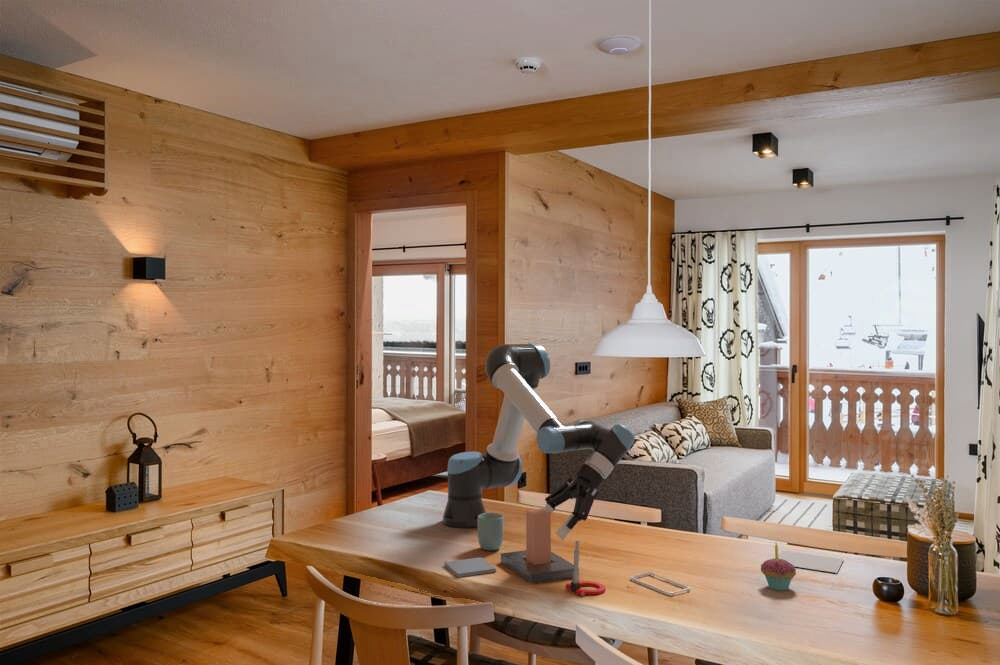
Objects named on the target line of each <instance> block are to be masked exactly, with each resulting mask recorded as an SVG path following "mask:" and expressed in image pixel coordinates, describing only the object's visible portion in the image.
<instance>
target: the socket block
mask: <svg viewBox="0 0 1000 665" xmlns="http://www.w3.org/2000/svg"><path fill="white" fill-rule="evenodd" d="M501 562H502V564H503V565H504V566H505V565H506V567H507V568H508V567H509V568H508V569H510V570H511V569H512V570H513V572H514V573H515V572H516V573H515V574H517V575H518V576H519V575H520V577H521V578H522V577H523V578H522V579H523V580H525V579H526V580H527V582H528V581H529V582H530V583H529V582H528V583H529V584H531V583H535V584H540V583H539V582H542V583H547V582H546V581H548V582H555V581H560V580H561V581H562V580H567V579H572V575H573V572H574V563H572V562H571V561H569V560H567V559H565V558H563V557H562V556H560V555H559V554H557V553H555V552H553V551H551V563H547V564H540V565H531V564H530V563H528V562H526V550H525V549H524V550H517V551H510V552H509V551H508V552H502V553H500V563H501ZM512 570H511V571H512ZM578 572H579V573H580V566H578ZM526 580H525V581H526ZM554 580H555V581H554Z"/></svg>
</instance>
